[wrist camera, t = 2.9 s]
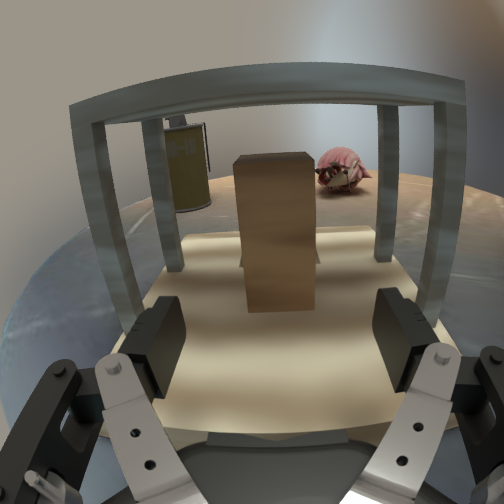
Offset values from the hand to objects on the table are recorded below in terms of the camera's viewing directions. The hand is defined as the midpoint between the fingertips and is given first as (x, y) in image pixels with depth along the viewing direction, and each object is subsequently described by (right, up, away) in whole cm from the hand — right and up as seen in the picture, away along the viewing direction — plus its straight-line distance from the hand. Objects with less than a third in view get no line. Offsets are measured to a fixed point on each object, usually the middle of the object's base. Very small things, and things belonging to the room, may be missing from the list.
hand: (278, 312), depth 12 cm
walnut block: (+1, -1, +13) cm, 13 cm away
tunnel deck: (+2, -4, +14) cm, 15 cm away
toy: (+19, +15, +53) cm, 59 cm away
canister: (-15, +12, +53) cm, 56 cm away
